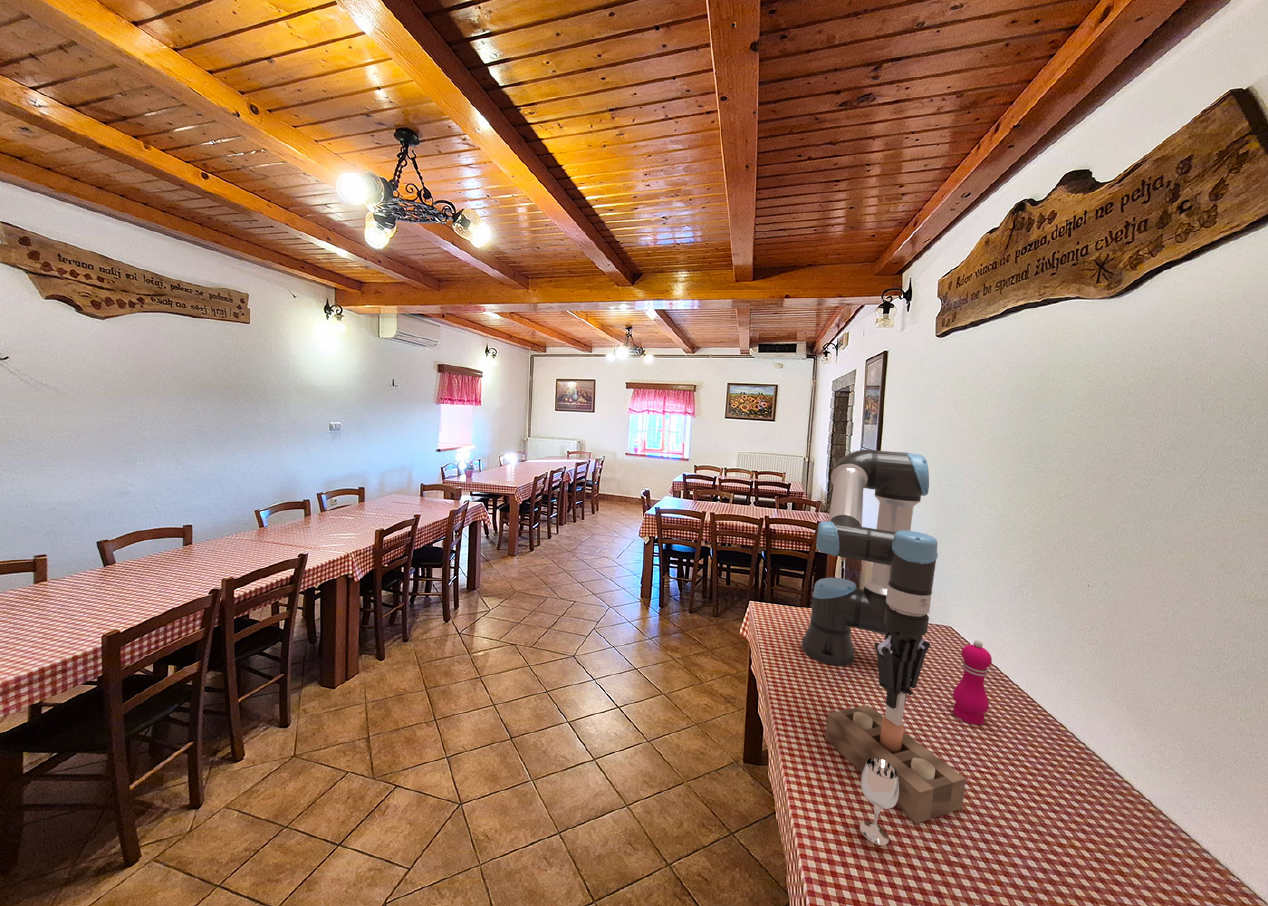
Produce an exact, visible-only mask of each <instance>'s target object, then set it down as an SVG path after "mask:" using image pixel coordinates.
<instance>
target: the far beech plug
mask: <svg viewBox="0 0 1268 906" xmlns="http://www.w3.org/2000/svg"><path fill="white" fill-rule="evenodd" d="M853 722H854V723H855V724H856V725H858V726H859V727H860V728H861V729H863V730H867V729H871V728H872V724H873V719H872V718H871V717H870V716H869V715H867V714H865V713H862V712H855V713H854V715H853Z"/></svg>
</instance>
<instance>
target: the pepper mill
mask: <svg viewBox="0 0 1268 906" xmlns="http://www.w3.org/2000/svg"><path fill="white" fill-rule="evenodd" d="M983 645H984V644H983V642H982V641H981V640H978V639H975V640H974V641H973V644H966V645H964V646H963V648H962V649H961V657H962V659H963V660H962V669H963V675H962V677H961V680H959V682H958V684H956V686H955V688H954V690H953V693H952V698H953V700H954V702H955V703H954V704H953V710H952V711H953V713H954V715H955V717H957V718H958V719H960V720H962V721H964V722H965V723H968V724H971V725H975V726H983V725H984V723H985V719H986V716H985V713H987V712H988V711H989V707H990V702H989V697H988V695H987V693H986V689H985V685H984V683H985V677H986V676H987V675H988V671H989V670H988V668H989V667H990V666H991V665H992V660H993V659H992V655H991V654H990V652H989V651H988V650H987V649H986V648H984V647H983Z"/></svg>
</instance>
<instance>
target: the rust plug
mask: <svg viewBox="0 0 1268 906" xmlns="http://www.w3.org/2000/svg"><path fill="white" fill-rule="evenodd" d="M904 728H905V724H904V722H902V725H899V726H896V725H895V724H893V723H892V722H891V721H889V720H888V719H887V718H885V715H883V720H882V728H881V736H880V744H881V745H882V746H883V747H884V748H886V749H887V750H888V751H889V752H890V753H892V754H895V753H899V752H901V746H902V738H903V732H904V730H905V729H904Z"/></svg>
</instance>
